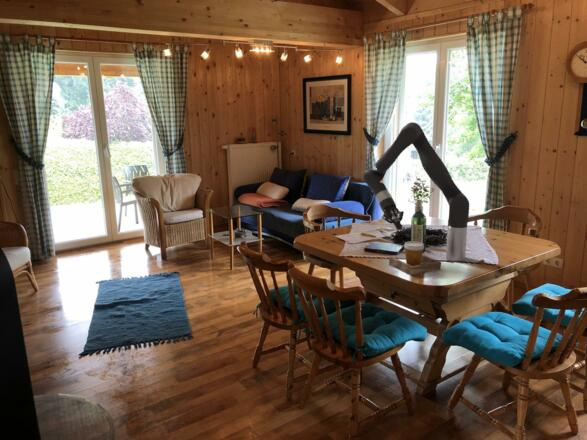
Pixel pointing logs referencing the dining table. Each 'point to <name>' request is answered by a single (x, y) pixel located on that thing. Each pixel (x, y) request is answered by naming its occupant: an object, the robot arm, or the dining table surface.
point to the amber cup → (414, 252)
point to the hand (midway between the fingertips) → (400, 229)
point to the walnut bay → (426, 266)
